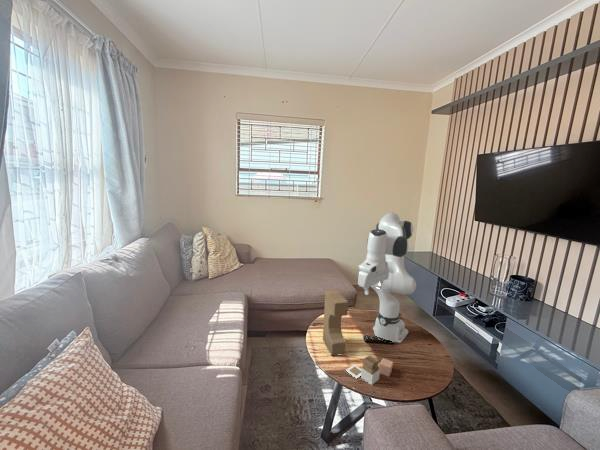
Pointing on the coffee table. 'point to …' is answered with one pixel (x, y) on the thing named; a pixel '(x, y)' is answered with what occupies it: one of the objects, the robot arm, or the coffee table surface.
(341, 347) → the decorative block
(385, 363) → the terracotta cube
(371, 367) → the walnut cube
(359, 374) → the card
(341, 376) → the coffee table surface
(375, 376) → the base block
